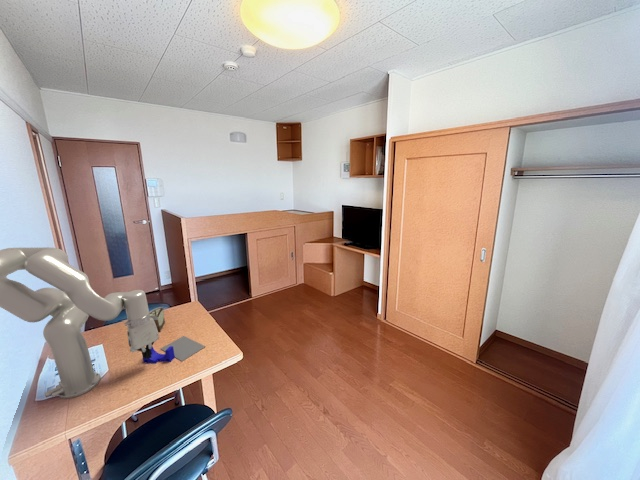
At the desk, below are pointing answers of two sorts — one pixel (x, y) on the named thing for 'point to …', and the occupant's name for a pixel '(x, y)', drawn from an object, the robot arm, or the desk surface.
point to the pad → (184, 348)
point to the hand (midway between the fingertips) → (147, 357)
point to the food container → (158, 317)
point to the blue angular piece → (161, 356)
